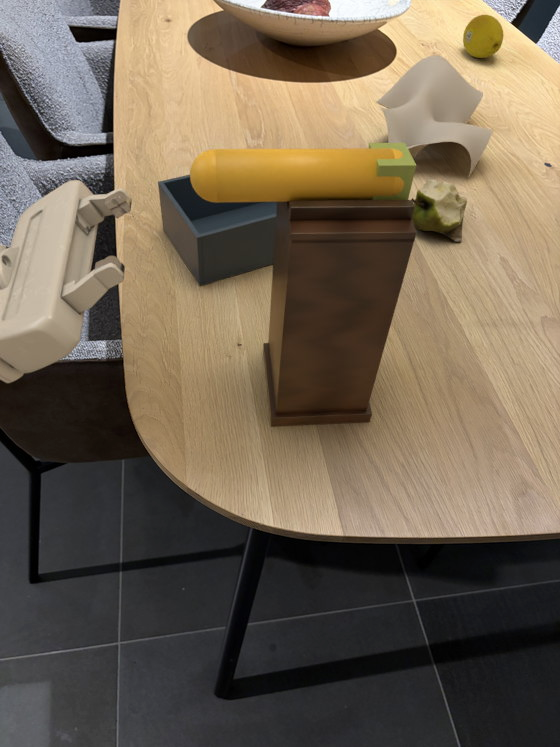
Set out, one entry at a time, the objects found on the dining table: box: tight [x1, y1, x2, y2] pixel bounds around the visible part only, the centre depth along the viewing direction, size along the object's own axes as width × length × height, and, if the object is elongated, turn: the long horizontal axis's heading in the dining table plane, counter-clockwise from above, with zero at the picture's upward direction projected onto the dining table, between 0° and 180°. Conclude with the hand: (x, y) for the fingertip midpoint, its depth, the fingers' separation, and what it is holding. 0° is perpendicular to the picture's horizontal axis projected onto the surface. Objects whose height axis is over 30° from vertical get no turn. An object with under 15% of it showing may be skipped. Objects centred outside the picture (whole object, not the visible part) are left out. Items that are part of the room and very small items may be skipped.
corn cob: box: [189, 142, 417, 203], centre depth 48 cm, size 18×4×4 cm, turn 96°
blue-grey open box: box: [157, 174, 277, 287], centre depth 83 cm, size 22×13×8 cm, turn 118°
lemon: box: [462, 14, 504, 59], centre depth 129 cm, size 11×8×8 cm
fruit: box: [410, 178, 468, 243], centre depth 88 cm, size 9×9×8 cm
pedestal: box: [262, 199, 418, 427], centre depth 59 cm, size 11×11×26 cm
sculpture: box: [375, 54, 493, 179], centre depth 104 cm, size 25×19×10 cm
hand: (123, 230), depth 51 cm, fingers open, 8 cm apart
